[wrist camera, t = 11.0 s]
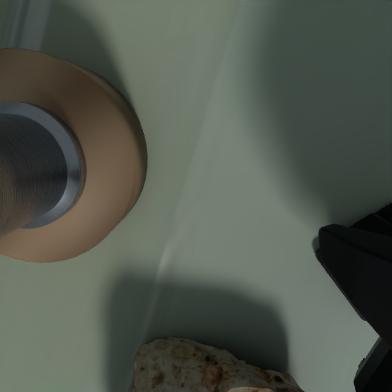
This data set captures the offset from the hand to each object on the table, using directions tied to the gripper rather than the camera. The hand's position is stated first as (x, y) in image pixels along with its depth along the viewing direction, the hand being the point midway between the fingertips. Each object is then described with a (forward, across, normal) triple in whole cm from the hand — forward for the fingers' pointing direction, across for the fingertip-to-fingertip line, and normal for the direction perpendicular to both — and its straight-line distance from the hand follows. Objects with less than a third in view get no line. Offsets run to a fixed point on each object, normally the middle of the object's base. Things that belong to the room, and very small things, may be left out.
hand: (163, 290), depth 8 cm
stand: (+16, +5, -1) cm, 16 cm away
